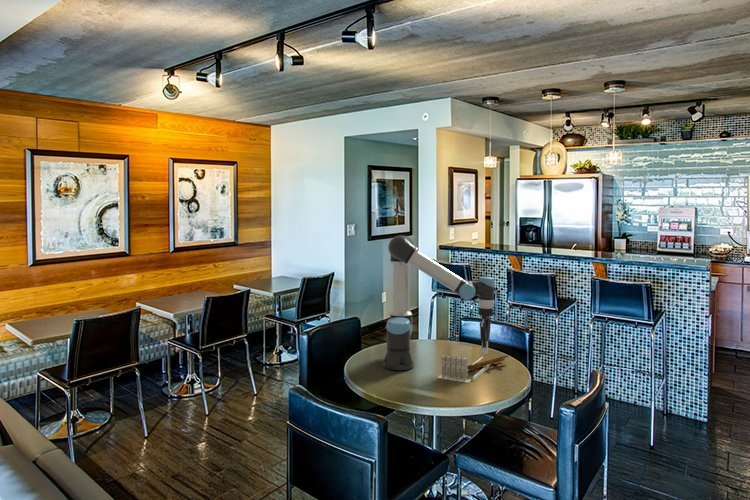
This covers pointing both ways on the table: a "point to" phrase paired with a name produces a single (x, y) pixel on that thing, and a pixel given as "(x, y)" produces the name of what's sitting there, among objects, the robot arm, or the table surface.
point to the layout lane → (480, 370)
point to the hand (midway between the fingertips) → (484, 353)
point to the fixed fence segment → (454, 367)
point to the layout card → (454, 379)
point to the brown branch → (486, 362)
